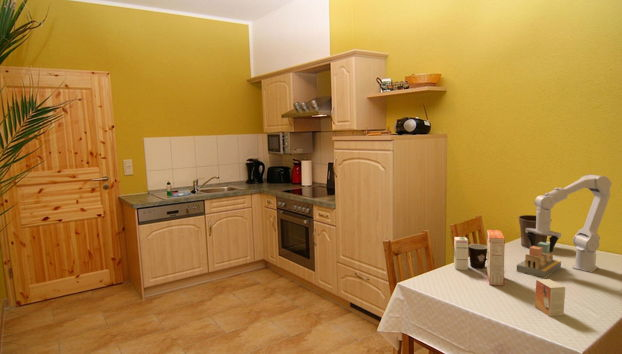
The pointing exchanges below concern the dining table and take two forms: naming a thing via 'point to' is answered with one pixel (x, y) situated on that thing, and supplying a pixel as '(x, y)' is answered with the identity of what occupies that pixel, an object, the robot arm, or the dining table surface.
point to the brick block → (535, 251)
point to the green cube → (544, 247)
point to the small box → (550, 297)
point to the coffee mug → (477, 255)
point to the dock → (542, 271)
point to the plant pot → (529, 222)
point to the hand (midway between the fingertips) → (542, 250)
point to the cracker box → (495, 257)
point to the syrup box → (461, 253)
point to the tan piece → (538, 260)
